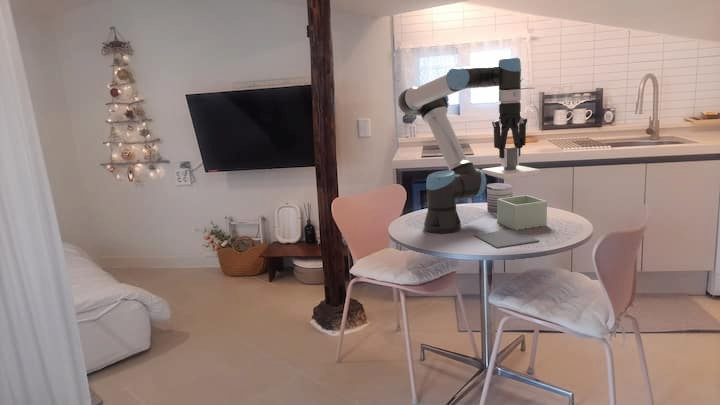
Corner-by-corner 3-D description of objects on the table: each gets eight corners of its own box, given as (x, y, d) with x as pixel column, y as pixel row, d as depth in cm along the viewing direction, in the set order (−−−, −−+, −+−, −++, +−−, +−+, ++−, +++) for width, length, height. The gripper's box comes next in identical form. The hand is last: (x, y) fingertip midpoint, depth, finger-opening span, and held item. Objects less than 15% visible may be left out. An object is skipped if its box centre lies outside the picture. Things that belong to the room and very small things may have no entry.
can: (500, 206, 231) (500, 181, 229) (518, 210, 221) (518, 184, 219) (481, 210, 226) (481, 185, 224) (499, 214, 216) (498, 188, 214)
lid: (504, 180, 173) (503, 151, 171) (481, 174, 187) (481, 148, 185) (540, 175, 177) (540, 147, 175) (515, 170, 191) (515, 144, 189)
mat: (496, 248, 172) (496, 246, 172) (474, 235, 188) (474, 234, 188) (539, 241, 176) (539, 240, 176) (513, 230, 192) (513, 228, 192)
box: (515, 230, 192) (515, 205, 190) (497, 222, 205) (497, 198, 203) (546, 225, 195) (547, 201, 193) (526, 217, 208) (526, 195, 206)
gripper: (494, 103, 170) (495, 169, 175) (536, 100, 175) (536, 164, 180) (483, 103, 177) (483, 167, 182) (524, 100, 182) (523, 162, 187)
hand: (509, 165), depth 181 cm, fingers closed on lid, 4 cm apart
